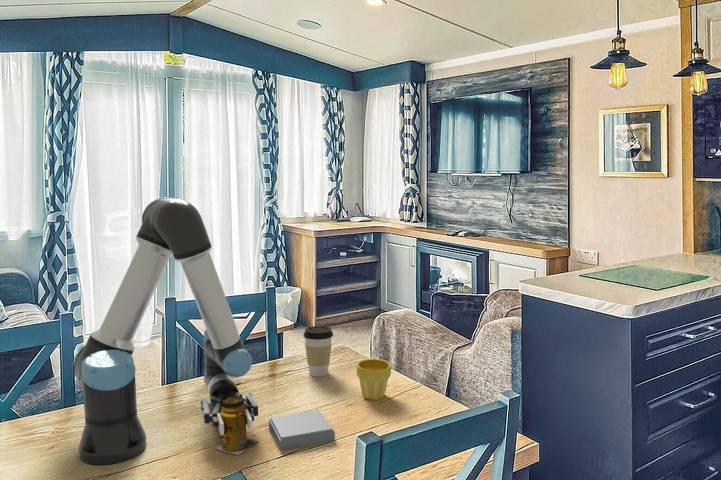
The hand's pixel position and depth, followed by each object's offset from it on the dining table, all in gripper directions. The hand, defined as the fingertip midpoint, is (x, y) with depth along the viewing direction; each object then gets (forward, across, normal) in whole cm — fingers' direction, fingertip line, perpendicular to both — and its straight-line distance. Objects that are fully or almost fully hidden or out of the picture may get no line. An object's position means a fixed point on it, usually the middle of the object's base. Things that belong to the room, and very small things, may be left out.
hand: (236, 427), depth 139 cm
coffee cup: (-46, -34, -7) cm, 57 cm away
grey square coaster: (-5, -17, -7) cm, 19 cm away
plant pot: (-22, -44, -7) cm, 50 cm away
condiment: (-5, -1, -7) cm, 9 cm away
